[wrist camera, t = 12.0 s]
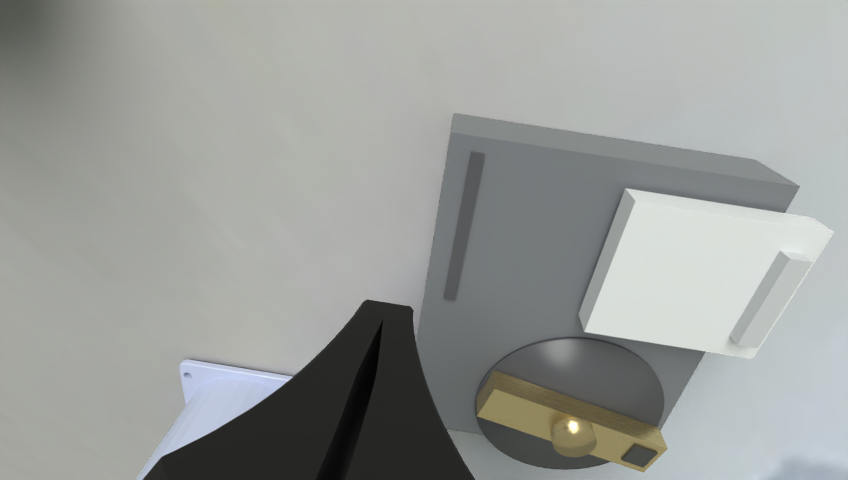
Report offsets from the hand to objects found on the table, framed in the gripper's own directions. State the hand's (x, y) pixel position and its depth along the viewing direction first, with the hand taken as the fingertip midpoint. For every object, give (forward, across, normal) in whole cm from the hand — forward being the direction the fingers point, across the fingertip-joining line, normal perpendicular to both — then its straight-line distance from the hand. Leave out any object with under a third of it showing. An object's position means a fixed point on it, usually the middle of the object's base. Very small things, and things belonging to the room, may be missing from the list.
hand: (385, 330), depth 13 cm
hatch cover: (+7, -11, 0) cm, 13 cm away
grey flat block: (+10, -8, +4) cm, 13 cm away
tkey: (+7, -9, +9) cm, 14 cm away
